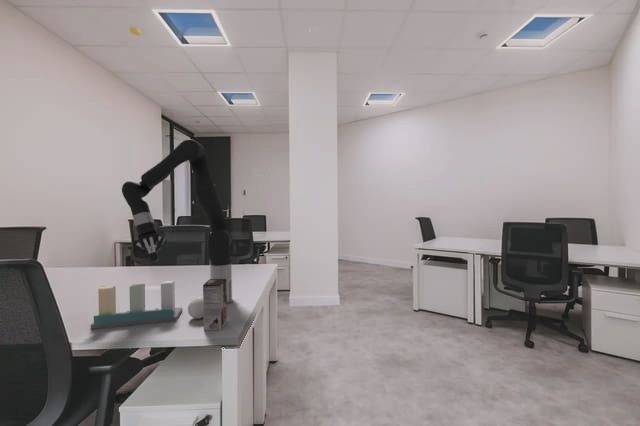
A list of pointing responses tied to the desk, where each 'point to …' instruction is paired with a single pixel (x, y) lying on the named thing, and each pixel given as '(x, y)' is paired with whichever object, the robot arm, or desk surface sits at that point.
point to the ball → (196, 308)
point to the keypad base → (135, 318)
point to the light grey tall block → (167, 295)
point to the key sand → (107, 300)
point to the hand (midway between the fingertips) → (155, 261)
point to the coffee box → (215, 304)
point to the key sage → (137, 298)
